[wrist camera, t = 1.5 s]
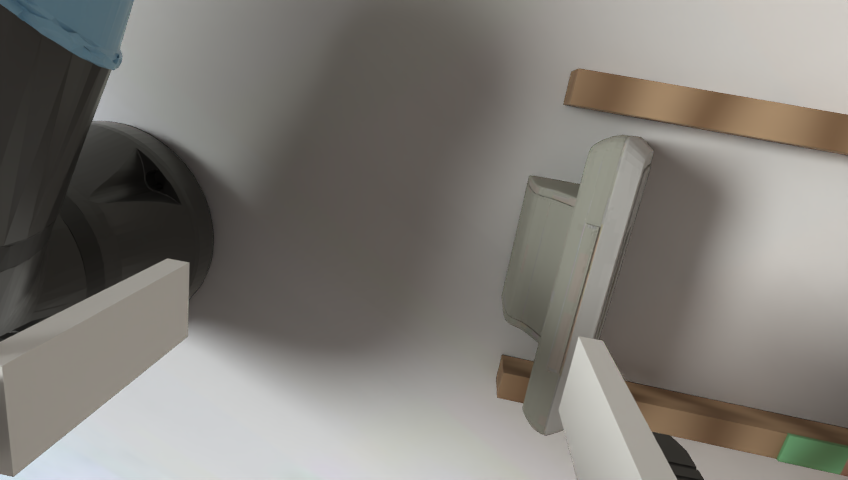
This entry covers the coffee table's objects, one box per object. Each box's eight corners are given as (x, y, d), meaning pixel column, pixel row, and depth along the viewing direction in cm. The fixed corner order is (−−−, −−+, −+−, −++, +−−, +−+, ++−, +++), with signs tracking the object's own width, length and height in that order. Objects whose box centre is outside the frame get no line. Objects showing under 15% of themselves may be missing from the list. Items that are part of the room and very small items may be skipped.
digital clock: (577, 367, 35) (616, 473, 25) (463, 321, 35) (455, 407, 25) (692, 159, 31) (797, 185, 20) (559, 106, 31) (598, 105, 21)
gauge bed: (496, 378, 36) (497, 399, 34) (571, 71, 30) (579, 67, 27) (886, 462, 34) (918, 491, 32) (1050, 154, 28) (1108, 158, 26)
